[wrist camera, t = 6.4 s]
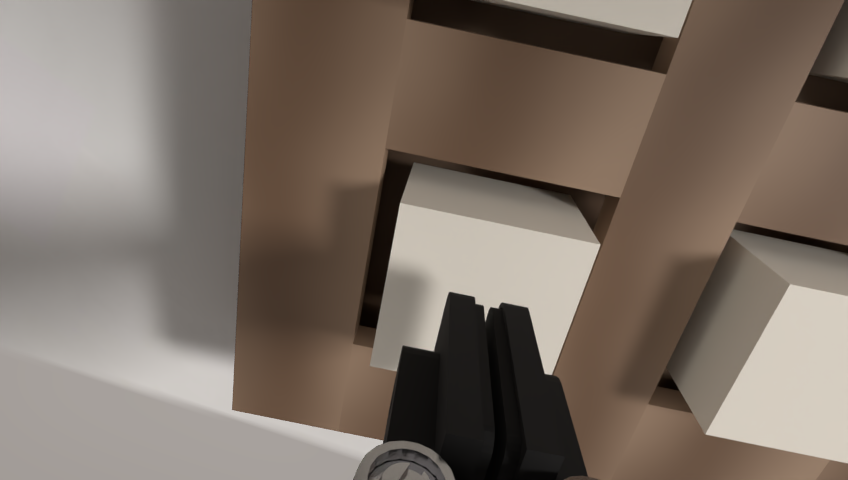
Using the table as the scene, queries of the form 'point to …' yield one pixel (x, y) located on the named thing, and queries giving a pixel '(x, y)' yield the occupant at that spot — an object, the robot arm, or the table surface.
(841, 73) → the button
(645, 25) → the button
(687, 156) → the board
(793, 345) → the button
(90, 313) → the table surface
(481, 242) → the button
